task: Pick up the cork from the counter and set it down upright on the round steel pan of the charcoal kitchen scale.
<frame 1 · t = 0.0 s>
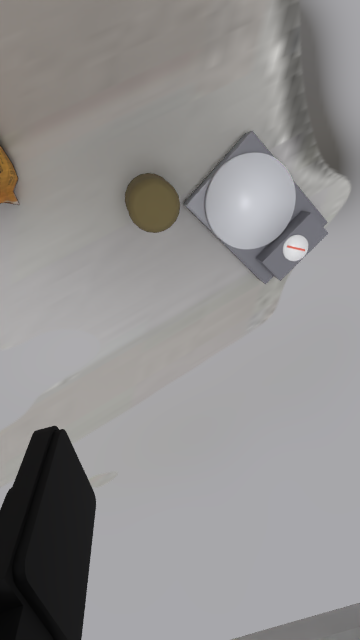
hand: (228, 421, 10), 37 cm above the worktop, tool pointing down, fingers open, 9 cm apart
kitchen scale: (253, 212, 45), on the worktop
cork: (149, 199, 43), on the worktop
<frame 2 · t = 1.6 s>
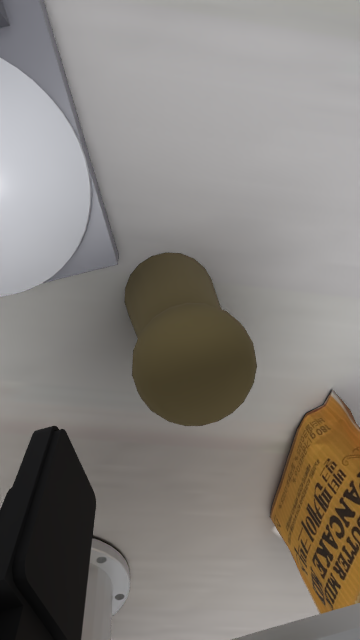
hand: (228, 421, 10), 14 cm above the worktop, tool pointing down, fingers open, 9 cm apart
pancake mix bag: (313, 465, 31), on the worktop
cork: (169, 296, 23), on the worktop
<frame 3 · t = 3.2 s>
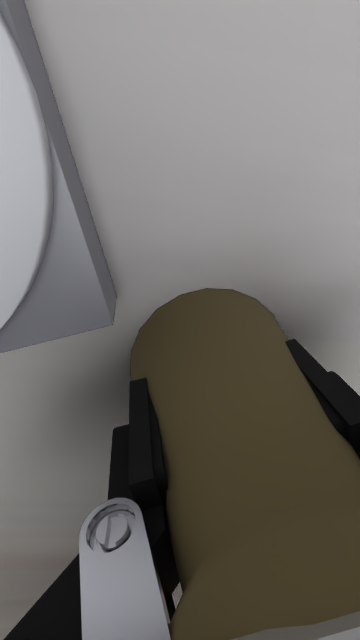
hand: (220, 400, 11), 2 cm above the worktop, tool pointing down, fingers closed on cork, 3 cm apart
cork: (208, 360, 13), on the worktop, touching gripper
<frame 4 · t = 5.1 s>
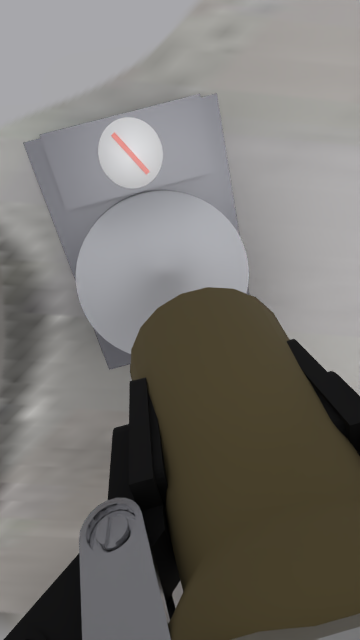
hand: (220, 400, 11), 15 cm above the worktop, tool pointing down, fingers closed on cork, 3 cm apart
kitchen scale: (153, 243, 24), on the worktop
cork: (208, 359, 13), point 13 cm above the worktop, touching gripper
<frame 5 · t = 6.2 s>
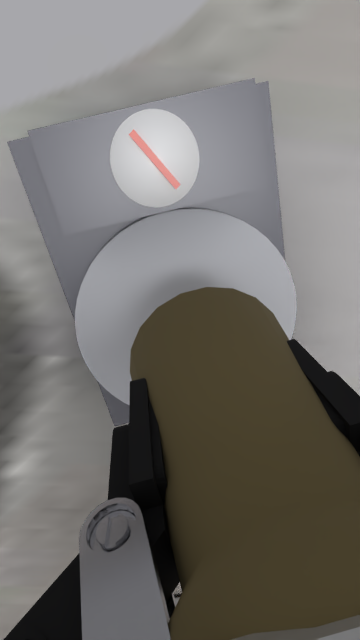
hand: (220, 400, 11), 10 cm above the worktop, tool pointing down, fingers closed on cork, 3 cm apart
kitchen scale: (173, 270, 19), on the worktop
cork: (207, 359, 13), point 7 cm above the worktop, touching gripper
when the fingers open (7 cm above the worktop, at t = 6.9 s): cork drops 2 cm, resting on kitchen scale.
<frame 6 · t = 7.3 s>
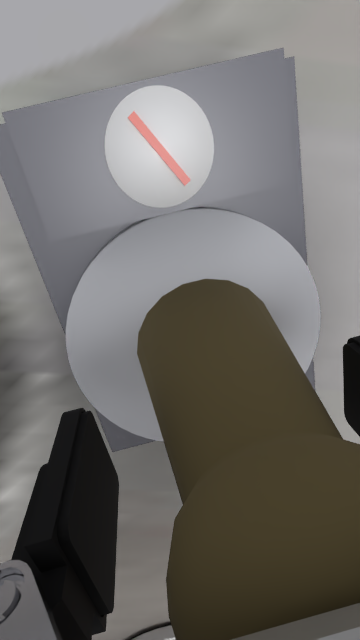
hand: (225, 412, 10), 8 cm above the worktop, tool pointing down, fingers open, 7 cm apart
kitchen scale: (178, 277, 17), on the worktop
cork: (206, 343, 15), point 3 cm above the worktop, touching kitchen scale
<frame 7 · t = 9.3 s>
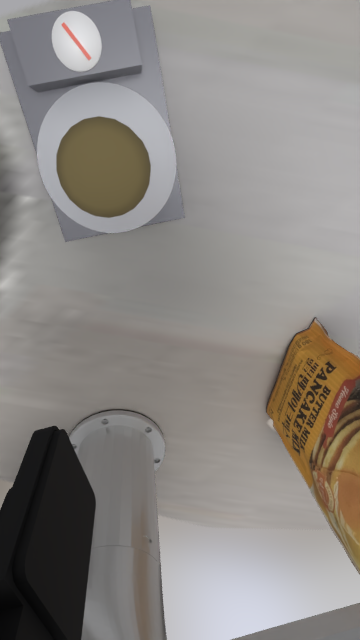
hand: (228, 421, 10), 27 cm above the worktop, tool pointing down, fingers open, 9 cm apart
kitchen scale: (105, 138, 30), on the worktop
pancake mix bag: (299, 374, 44), on the worktop
cork: (113, 166, 28), point 3 cm above the worktop, touching kitchen scale
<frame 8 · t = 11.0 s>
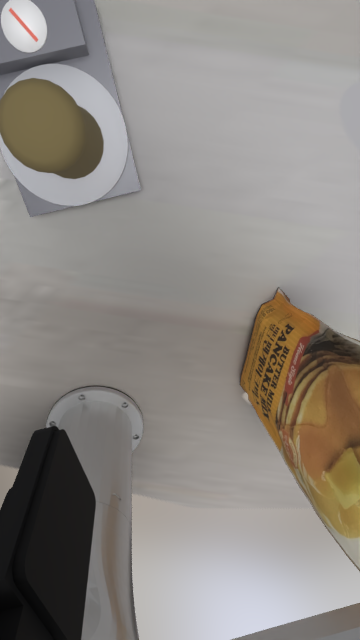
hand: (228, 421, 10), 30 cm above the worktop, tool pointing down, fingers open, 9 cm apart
kitchen scale: (63, 119, 32), on the worktop
pancake mix bag: (269, 346, 45), on the worktop
cork: (69, 142, 30), point 3 cm above the worktop, touching kitchen scale
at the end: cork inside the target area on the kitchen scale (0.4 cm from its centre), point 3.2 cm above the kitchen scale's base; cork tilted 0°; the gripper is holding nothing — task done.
